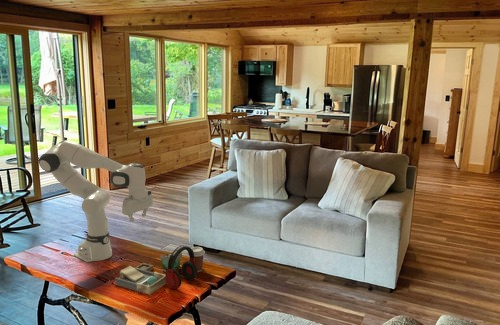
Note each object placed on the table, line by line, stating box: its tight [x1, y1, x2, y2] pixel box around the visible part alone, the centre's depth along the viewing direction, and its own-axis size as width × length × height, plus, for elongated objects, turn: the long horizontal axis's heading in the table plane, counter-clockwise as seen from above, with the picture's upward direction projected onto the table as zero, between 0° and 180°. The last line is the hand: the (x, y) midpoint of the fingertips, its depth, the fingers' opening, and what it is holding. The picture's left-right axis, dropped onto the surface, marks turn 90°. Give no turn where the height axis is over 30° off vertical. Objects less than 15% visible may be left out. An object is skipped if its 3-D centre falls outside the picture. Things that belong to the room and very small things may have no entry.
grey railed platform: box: [114, 267, 154, 292], centre depth 204 cm, size 14×14×3 cm
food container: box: [159, 252, 183, 274], centre depth 216 cm, size 12×6×10 cm, turn 123°
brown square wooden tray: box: [134, 262, 154, 272], centre depth 218 cm, size 7×7×2 cm
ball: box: [147, 276, 158, 286], centre depth 199 cm, size 5×5×5 cm
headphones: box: [164, 245, 198, 290], centre depth 202 cm, size 18×10×20 cm, turn 147°
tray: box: [136, 271, 167, 296], centre depth 200 cm, size 8×14×4 cm, turn 154°
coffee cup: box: [190, 246, 206, 273], centre depth 219 cm, size 9×9×12 cm
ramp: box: [119, 265, 144, 282], centre depth 205 cm, size 10×7×4 cm
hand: (138, 218), depth 214 cm, fingers open, 8 cm apart
